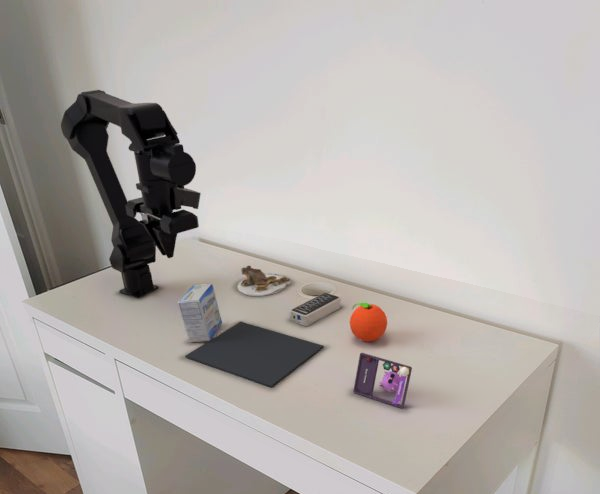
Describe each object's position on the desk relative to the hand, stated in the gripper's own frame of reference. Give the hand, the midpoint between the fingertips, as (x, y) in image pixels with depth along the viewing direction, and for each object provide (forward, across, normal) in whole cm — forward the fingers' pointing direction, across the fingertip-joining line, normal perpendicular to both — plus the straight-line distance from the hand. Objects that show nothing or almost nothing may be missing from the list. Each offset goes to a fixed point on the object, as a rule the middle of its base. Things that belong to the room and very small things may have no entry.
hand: (167, 256), depth 124 cm
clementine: (+12, -37, -19) cm, 44 cm away
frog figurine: (+12, -3, -20) cm, 24 cm away
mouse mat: (+12, -27, -1) cm, 29 cm away
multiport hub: (+12, -23, -20) cm, 32 cm away
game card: (+12, -53, -8) cm, 55 cm away
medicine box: (+12, -14, +1) cm, 18 cm away
